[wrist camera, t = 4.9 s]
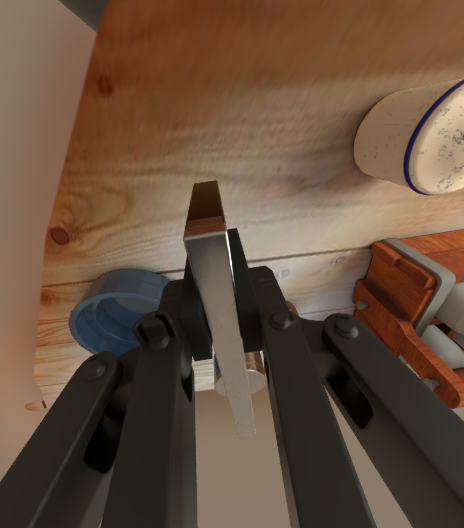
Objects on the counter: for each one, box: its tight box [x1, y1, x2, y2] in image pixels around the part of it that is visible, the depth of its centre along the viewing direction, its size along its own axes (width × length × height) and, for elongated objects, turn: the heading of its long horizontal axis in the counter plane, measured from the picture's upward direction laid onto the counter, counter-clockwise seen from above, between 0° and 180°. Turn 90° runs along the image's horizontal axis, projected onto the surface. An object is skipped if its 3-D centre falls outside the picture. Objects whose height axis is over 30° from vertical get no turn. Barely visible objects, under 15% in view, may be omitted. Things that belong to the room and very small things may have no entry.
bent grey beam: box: [183, 181, 266, 438], centre depth 15 cm, size 20×5×7 cm, turn 7°
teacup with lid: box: [354, 79, 464, 195], centre depth 20 cm, size 12×9×12 cm
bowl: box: [68, 269, 169, 356], centre depth 33 cm, size 16×16×6 cm
